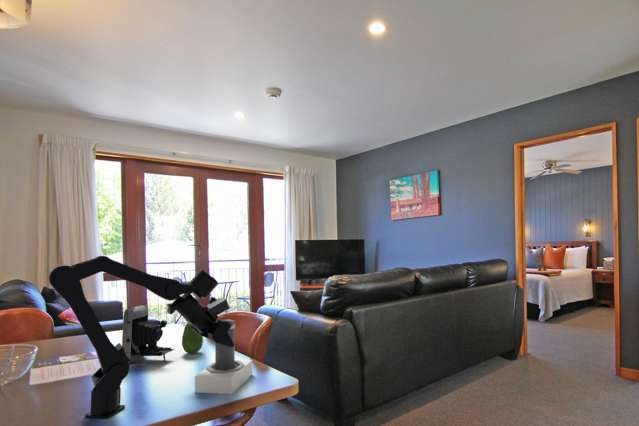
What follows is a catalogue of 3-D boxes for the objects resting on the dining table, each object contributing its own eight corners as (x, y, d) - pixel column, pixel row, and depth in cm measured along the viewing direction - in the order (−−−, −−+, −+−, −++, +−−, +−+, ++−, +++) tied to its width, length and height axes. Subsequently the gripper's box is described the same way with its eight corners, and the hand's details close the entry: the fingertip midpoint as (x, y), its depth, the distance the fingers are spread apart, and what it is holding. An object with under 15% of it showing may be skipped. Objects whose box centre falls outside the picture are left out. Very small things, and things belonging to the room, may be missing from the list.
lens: (224, 373, 109) (225, 323, 110) (210, 370, 112) (210, 321, 113) (239, 367, 114) (239, 320, 115) (225, 364, 117) (225, 318, 118)
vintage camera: (158, 368, 130) (162, 309, 132) (119, 364, 133) (123, 307, 135) (174, 360, 139) (177, 305, 141) (138, 357, 142) (141, 303, 144)
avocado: (180, 352, 147) (180, 321, 148) (201, 349, 150) (201, 318, 151) (183, 357, 140) (183, 324, 141) (205, 354, 143) (205, 322, 144)
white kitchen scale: (231, 394, 104) (231, 375, 104) (195, 392, 106) (195, 373, 106) (252, 374, 120) (252, 358, 120) (220, 373, 122) (220, 356, 122)
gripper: (224, 292, 105) (260, 327, 111) (202, 287, 120) (234, 318, 126) (196, 325, 100) (235, 359, 105) (176, 315, 115) (211, 346, 120)
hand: (229, 344), depth 114 cm, fingers closed on lens, 6 cm apart
